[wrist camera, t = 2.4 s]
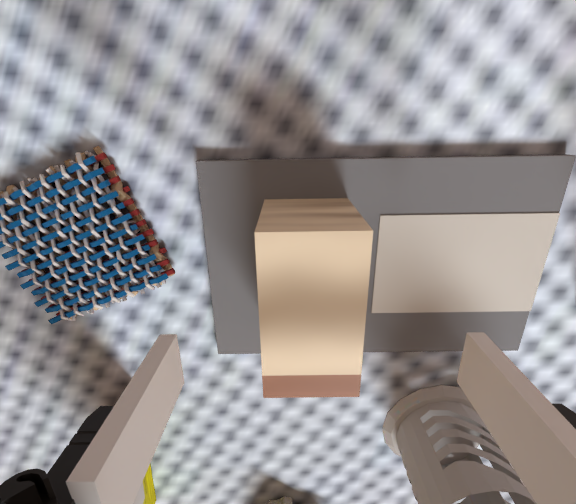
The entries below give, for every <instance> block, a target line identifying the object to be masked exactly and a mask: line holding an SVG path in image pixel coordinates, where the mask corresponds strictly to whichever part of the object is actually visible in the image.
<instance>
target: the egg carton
mask: <svg viewBox="0 0 576 504" xmlns="http://www.w3.org/2000/svg"><path fill="white" fill-rule="evenodd" d="M267 504H292V498H290V497H287V496H283V497H282V498H280V499H277V500H269V501H268V502H267Z"/></svg>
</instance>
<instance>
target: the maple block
mask: <svg viewBox="0 0 576 504" xmlns="http://www.w3.org/2000/svg"><path fill="white" fill-rule="evenodd" d="M254 234H255V252H256V271H257V289H258V307H259V325H260V343H261V361H262V379H263V397H264V398H283V397H359V393H360V381H361V370H362V358H363V346H364V335H365V323H366V311H367V299H368V288H369V276H370V264H371V253H372V241H373V230H372V228H371V227H370V226H369V225H368V223H367V222H366V221H365V219H364V218H363V217H362V216H361V214H360V213H359V212H358V211H357V209H356V208H355V207H354V206H353V204H352V203H351V202H350V200H349V199H348V198H326V199H265V200H264V203H263V206H262V209H261V213H260V216H259V219H258V222H257V226H256V229H255V232H254Z"/></svg>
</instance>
